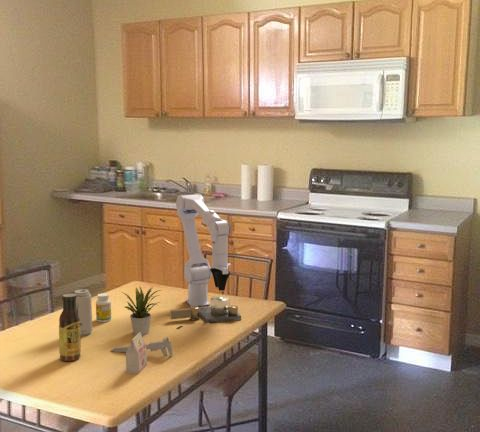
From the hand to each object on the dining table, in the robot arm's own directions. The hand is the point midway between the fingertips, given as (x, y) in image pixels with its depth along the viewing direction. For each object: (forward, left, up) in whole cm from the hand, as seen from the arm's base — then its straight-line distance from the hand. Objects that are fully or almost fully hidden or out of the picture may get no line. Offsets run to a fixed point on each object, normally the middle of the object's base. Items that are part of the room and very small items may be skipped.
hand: (220, 288), depth 216 cm
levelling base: (+1, -6, -10) cm, 12 cm away
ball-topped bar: (+1, -14, -10) cm, 17 cm away
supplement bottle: (-8, -42, -11) cm, 44 cm away
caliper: (+28, -34, -11) cm, 45 cm away
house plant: (+10, -30, -11) cm, 33 cm away
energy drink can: (+4, -50, -11) cm, 51 cm away
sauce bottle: (+25, -55, -11) cm, 61 cm away
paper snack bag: (+39, -37, -11) cm, 55 cm away
